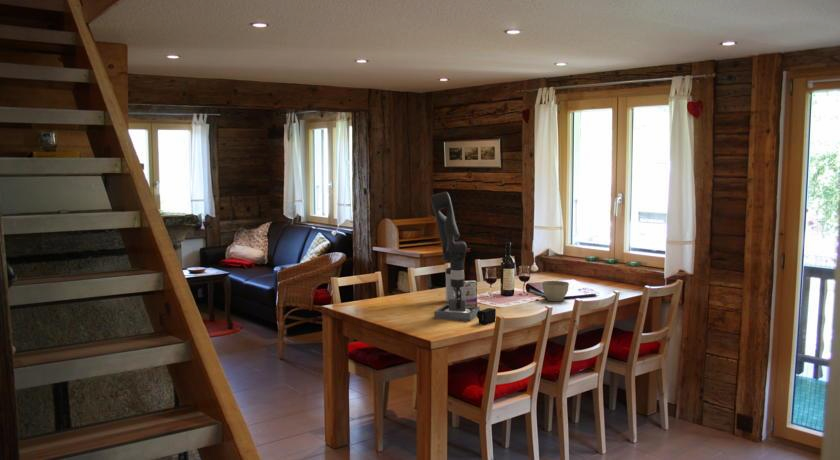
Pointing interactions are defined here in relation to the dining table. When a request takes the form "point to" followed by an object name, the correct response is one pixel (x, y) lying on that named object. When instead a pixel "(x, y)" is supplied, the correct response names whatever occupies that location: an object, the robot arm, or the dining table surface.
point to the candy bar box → (469, 293)
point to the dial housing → (456, 314)
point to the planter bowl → (555, 290)
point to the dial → (453, 306)
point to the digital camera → (486, 316)
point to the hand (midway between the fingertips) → (457, 307)
